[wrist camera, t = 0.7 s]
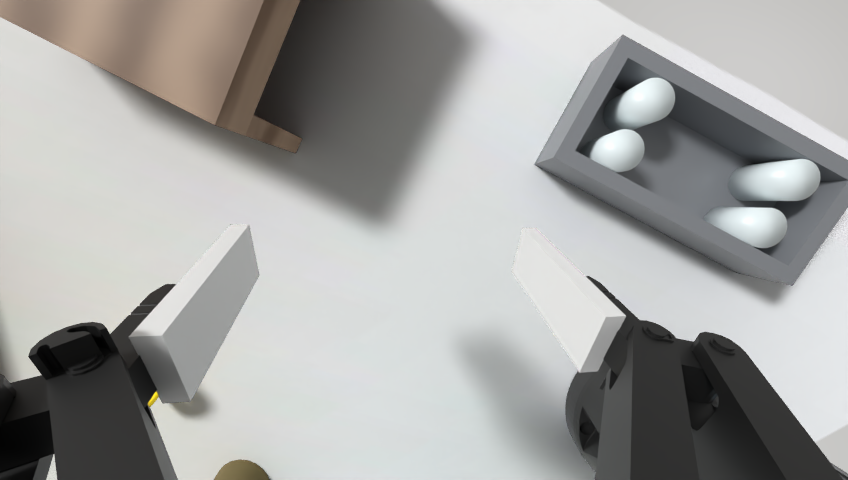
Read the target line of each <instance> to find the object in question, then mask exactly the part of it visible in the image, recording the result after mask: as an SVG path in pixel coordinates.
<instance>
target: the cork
mask: <svg viewBox="0 0 848 480" xmlns="http://www.w3.org/2000/svg"><path fill="white" fill-rule="evenodd" d="M214 480H269V478H268V476H267V474H266V473H265V471H264V470H263V469H262V468H261V467H259V466H258V465H257V464H255V463H253V462H250V461H247V460H235V461H231V462H229V463H227V464H225V465H224V466H223V467H222V468H221V469H220V471H219V472H218V474H217V475H216V477H215V479H214Z"/></svg>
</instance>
